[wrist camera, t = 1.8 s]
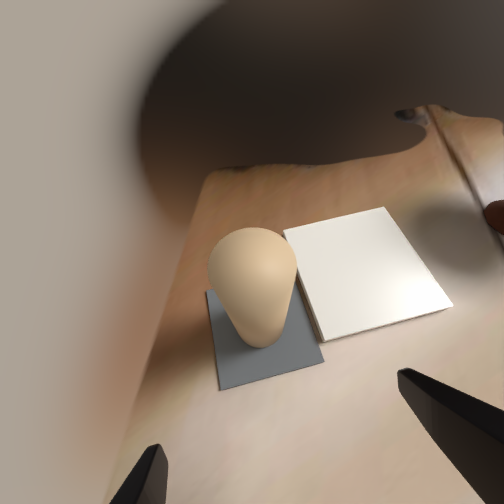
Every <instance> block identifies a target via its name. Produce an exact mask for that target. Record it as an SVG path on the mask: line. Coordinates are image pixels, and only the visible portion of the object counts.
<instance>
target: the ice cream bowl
mask: <svg viewBox="0 0 504 504" xmlns="http://www.w3.org/2000/svg"><path fill="white" fill-rule="evenodd" d="M484 214H485V217H486V219H487V222H488V224H489V225H491V226H492V227H493V228H494V229H496V230H497V231H498V232H500V233H501V234H502V235H504V200H499V201H494V202H492V203H490V204H489V205H488V206H487V208H486V209H485V210H484Z"/></svg>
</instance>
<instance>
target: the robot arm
mask: <svg viewBox="0 0 504 504" xmlns="http://www.w3.org/2000/svg"><path fill="white" fill-rule="evenodd" d="M397 377H398V388H399V391H400V393H401V395H402V396H403V398H404V399H405V400H406V402H407V403H408V405H409V406H410V408H411V409H412V410H413V412H414V413H415V415H416V416H417V418H418V419H419V421H420V422H421V423H422V425H423V426H424V428H425V429H426V431H427V432H428V433H429V435H430V436H431V438H432V439H433V440H434V441H435V443H436V444H437V445H438V446H439V448H440V449H441V450H442V451H443V453H444V454H445V455H446V456H447V457H448V459H449V460H450V461H451V462H452V464H453V465H454V466H455V467H456V468H457V470H458V471H459V472H460V473H461V474H462V476H463V477H464V478H465V479H466V481H467V482H468V483H469V484H470V485H471V487H472V488H473V489H474V490H475V492H476V493H477V494H478V495H479V496H480V498H481V499H482V500H483V501H484V503H485V504H504V411H503V410H501V409H499V408H497V407H494V406H492V405H490V404H488V403H486V402H483V401H481V400H479V399H477V398H475V397H472V396H470V395H468V394H466V393H464V392H461V391H459V390H457V389H455V388H453V387H450V386H448V385H446V384H444V383H442V382H439V381H437V380H435V379H433V378H431V377H428V376H426V375H424V374H422V373H420V372H417V371H415V370H413V369H411V368H404V369H401V370H398V372H397ZM167 477H168V460H167V457H166V455H165V453H164V451H163V448H162V446H161V445H160V444H155V445H152V446H149V447H148V448H147V449H146V450H145V451H144V453H143V454H142V456H141V457H140V459H139V460H138V462H137V463H136V465H135V466H134V468H133V469H132V471H131V472H130V474H129V475H128V477H127V478H126V480H125V481H124V483H123V484H122V486H121V487H120V489H119V490H118V492H117V493H116V495H115V496H114V497H113V499H112V500H111V502H110V503H109V504H165V503H166V490H167Z"/></svg>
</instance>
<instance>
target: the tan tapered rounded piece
mask: <svg viewBox="0 0 504 504" xmlns="http://www.w3.org/2000/svg"><path fill="white" fill-rule="evenodd" d="M207 271H208V278H209V281H210V284H211V286H212V288H213V289H214V291H215V293H216V295H217V296H218V298H219V300H220V302H221V303H222V305H223V307H224V309H225V311H226V312H227V314H228V316H229V318H230V319H231V321H232V323H233V325H234V327H235V328H236V330H237V332H238V334H239V335H240V337H241V339H242V340H243V341H244V342H245V343H247V344H248V345H250V346H252V347H255V348H265V347H269V346H271V345H273V344H274V343H275V342H276V341H277V340H278V339H279V338H280V336H281V334H282V332H283V328H284V324H285V320H286V316H287V311H288V307H289V303H290V299H291V294H292V290H293V286H294V282H295V277H296V272H297V261H296V256H295V253H294V251H293V249H292V247H291V246H290V244H289V243H288V242H287V241H286V240H285V239H284V238H283V237H281V236H280V235H278V234H277V233H275V232H273V231H270V230H267V229H263V228H245V229H240V230H237V231H235V232H232V233H230V234H228V235H227V236H225V237H224V238H223V239H222V240H220V241H219V242H218V244H217V245H216V246H215V247H214V249H213V250H212V252H211V254H210V257H209V260H208V267H207Z"/></svg>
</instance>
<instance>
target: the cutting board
mask: <svg viewBox="0 0 504 504" xmlns="http://www.w3.org/2000/svg"><path fill="white" fill-rule="evenodd" d="M283 237H284V239H285V240H286V241H287V242H288V243H289V244H290V246H291V247H292V249H293V251H294V253H295V256H296V261H297V275H298V277H299V280H300V283H301V285H302V288H303V291H304V293H305V296H306V299H307V301H308V304H309V307H310V309H311V312H312V315H313V317H314V320H315V323H316V325H317V328H318V331H319V334H320V336H321V339H322V342H327V341H330V340H334V339H338V338H342V337H345V336H349V335H353V334H356V333H360V332H364V331H368V330H371V329H375V328H379V327H382V326H386V325H390V324H393V323H397V322H401V321H405V320H408V319H412V318H416V317H419V316H423V315H427V314H431V313H434V312H438V311H442V310H445V309H448V308H450V307H453V306H454V305H453V304H452V303H451V301H450V300H449V298H448V297H447V296H446V294H445V293H444V291H443V290H442V288H441V287H440V286H439V284H438V283H437V281H436V280H435V278H434V277H433V276H432V274H431V273H430V271H429V270H428V269H427V267H426V266H425V264H424V263H423V261H422V260H421V259H420V257H419V256H418V254H417V253H416V251H415V250H414V249H413V247H412V246H411V244H410V243H409V242H408V240H407V239H406V237H405V236H404V234H403V233H402V232H401V230H400V229H399V227H398V226H397V224H396V223H395V222H394V220H393V219H392V217H391V216H390V215H389V213H388V212H387V210H386V209H385V207H380V208H376V209H372V210H367V211H363V212H359V213H355V214H350V215H346V216H342V217H338V218H333V219H329V220H325V221H320V222H316V223H312V224H308V225H303V226H299V227H295V228H291V229H286V230H283Z"/></svg>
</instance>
